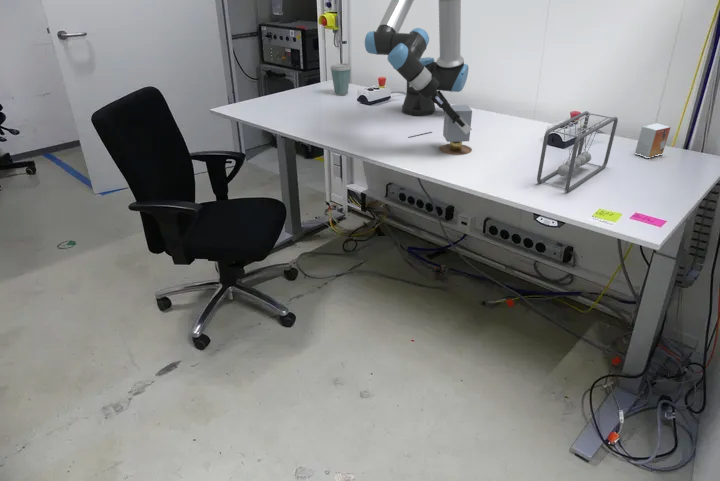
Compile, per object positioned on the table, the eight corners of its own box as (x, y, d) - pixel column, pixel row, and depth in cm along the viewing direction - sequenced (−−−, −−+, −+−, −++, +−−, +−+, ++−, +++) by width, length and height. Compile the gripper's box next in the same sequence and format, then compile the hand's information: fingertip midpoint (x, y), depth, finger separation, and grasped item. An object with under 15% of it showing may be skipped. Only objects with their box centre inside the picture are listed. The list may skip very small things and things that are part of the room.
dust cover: (442, 134, 188) (445, 105, 183) (464, 134, 189) (467, 104, 183) (447, 141, 182) (449, 111, 176) (469, 141, 182) (472, 110, 176)
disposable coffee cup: (329, 96, 259) (327, 66, 252) (333, 91, 268) (332, 61, 261) (349, 97, 258) (348, 66, 250) (353, 91, 267) (352, 62, 259)
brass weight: (455, 146, 190) (457, 133, 188) (463, 149, 187) (465, 136, 185) (446, 148, 188) (447, 135, 186) (454, 152, 185) (456, 138, 183)
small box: (647, 159, 178) (656, 130, 173) (633, 154, 182) (641, 126, 177) (662, 155, 181) (671, 126, 176) (648, 150, 186) (656, 122, 180)
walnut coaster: (456, 143, 195) (456, 141, 195) (478, 152, 186) (478, 150, 186) (432, 149, 190) (432, 147, 189) (453, 158, 181) (453, 157, 181)
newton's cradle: (566, 194, 154) (578, 137, 145) (535, 184, 161) (544, 130, 152) (606, 167, 173) (619, 115, 164) (577, 159, 179) (587, 109, 170)
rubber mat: (431, 132, 207) (431, 131, 206) (450, 140, 198) (450, 139, 198) (407, 138, 201) (407, 137, 201) (426, 146, 192) (426, 145, 192)
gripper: (412, 84, 185) (452, 126, 194) (420, 98, 167) (464, 144, 176) (427, 69, 183) (467, 112, 191) (437, 81, 165) (481, 129, 173)
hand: (466, 127), depth 183 cm, fingers closed on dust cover, 8 cm apart
